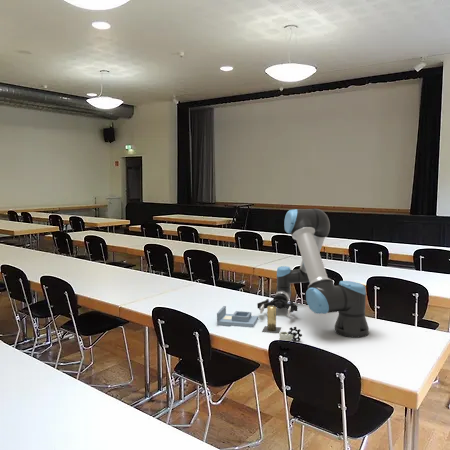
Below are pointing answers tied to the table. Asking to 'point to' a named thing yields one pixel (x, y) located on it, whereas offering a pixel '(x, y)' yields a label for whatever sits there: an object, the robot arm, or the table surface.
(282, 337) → the valve
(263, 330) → the pad
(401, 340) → the table surface
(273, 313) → the brass peg
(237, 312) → the grey socket fixture
